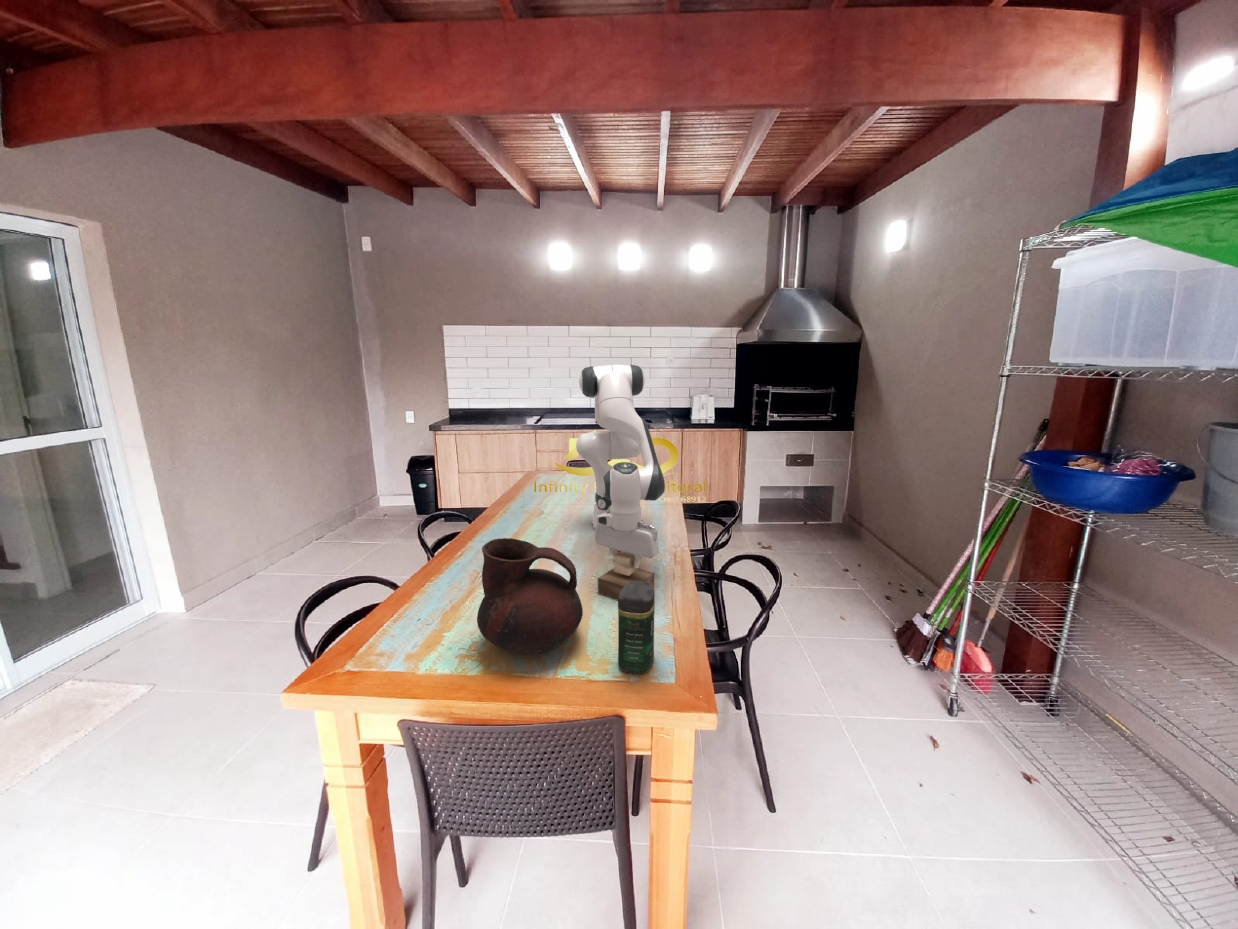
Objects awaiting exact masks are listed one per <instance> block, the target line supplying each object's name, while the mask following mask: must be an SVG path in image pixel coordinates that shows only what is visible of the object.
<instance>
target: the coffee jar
mask: <svg viewBox="0 0 1238 929" xmlns="http://www.w3.org/2000/svg"><path fill="white" fill-rule="evenodd" d="M617 614H618V618H617V619H618V620H617V621H618V622H617V623H618V624H617V625H618V629H617V630H618V635H617V636H618V637H617V638H618V639H617V640H618V644H617V645H618V646H617V648H618V649H617V651H618V652H617V654H618V655H617V665H618V667H619V669H620V670H621V671H624V672H626V673H629V674H635V675H636V674H645V673H647V672H649V671H650V669H651V667H652V665H653V662H654V658H655V588H654V589H653V587H652V586H651V585H650V584H649V583H646V582H639V581H631V582H630V583H628V584H626V585H625V586H624V587H623V588H622V590H621V592H620V594H619V596H618V600H617Z"/></svg>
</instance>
